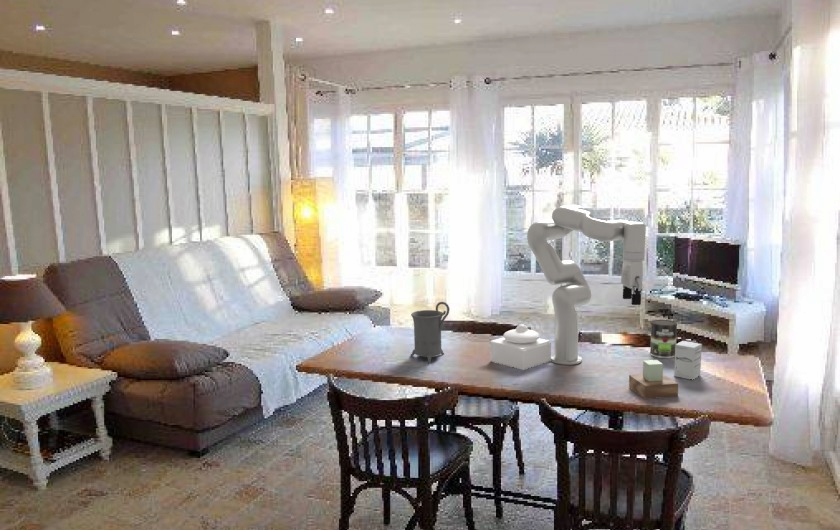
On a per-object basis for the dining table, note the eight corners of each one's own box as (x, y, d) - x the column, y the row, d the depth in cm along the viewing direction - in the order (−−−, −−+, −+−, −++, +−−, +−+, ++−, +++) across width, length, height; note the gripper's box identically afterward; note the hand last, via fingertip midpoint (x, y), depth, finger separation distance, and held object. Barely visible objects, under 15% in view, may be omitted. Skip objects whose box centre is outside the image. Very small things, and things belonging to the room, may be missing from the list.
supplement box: (673, 376, 240) (674, 344, 238) (681, 371, 245) (682, 340, 243) (693, 380, 235) (694, 347, 233) (701, 375, 240) (702, 343, 238)
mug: (402, 360, 270) (401, 302, 266) (418, 351, 283) (416, 296, 279) (443, 365, 262) (441, 305, 258) (457, 355, 275) (456, 299, 271)
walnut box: (629, 388, 230) (629, 375, 229) (660, 385, 231) (660, 372, 231) (645, 399, 218) (645, 386, 217) (677, 397, 220) (678, 383, 219)
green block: (642, 376, 227) (643, 360, 226) (656, 376, 227) (656, 359, 226) (648, 381, 222) (648, 364, 221) (662, 380, 222) (662, 363, 221)
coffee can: (677, 359, 262) (679, 325, 260) (651, 357, 264) (652, 324, 262) (674, 352, 272) (675, 319, 269) (648, 351, 274) (649, 319, 272)
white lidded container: (523, 371, 252) (523, 332, 250) (490, 361, 266) (489, 324, 263) (551, 361, 263) (551, 324, 261) (517, 353, 277) (517, 317, 275)
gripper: (615, 252, 241) (614, 296, 243) (631, 259, 223) (629, 307, 226) (635, 252, 241) (633, 296, 243) (652, 259, 224) (650, 307, 226)
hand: (631, 301), depth 235 cm, fingers open, 9 cm apart
